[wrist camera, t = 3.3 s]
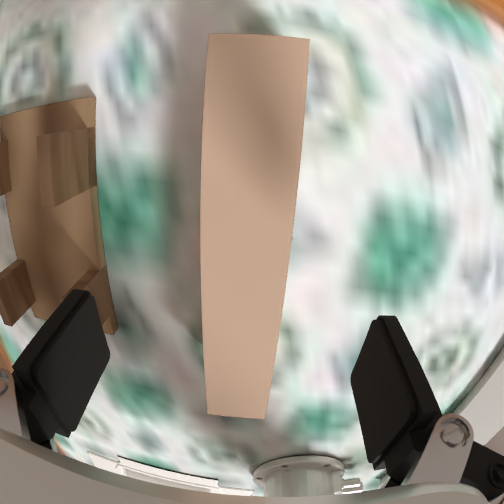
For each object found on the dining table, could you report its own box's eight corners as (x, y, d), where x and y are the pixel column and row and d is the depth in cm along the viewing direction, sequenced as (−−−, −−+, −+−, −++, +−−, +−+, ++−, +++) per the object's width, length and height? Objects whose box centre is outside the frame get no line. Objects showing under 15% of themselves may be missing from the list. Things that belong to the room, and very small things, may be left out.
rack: (95, 97, 16) (49, 97, 11) (118, 327, 23) (94, 368, 19) (8, 115, 16) (-37, 123, 11) (40, 311, 24) (12, 342, 19)
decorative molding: (379, 465, 39) (424, 471, 37) (377, 487, 35) (424, 491, 33) (505, 310, 25) (550, 327, 23) (521, 333, 21) (564, 348, 19)
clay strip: (295, 63, 15) (309, 39, 10) (265, 361, 24) (264, 419, 19) (227, 59, 15) (208, 34, 10) (217, 357, 24) (207, 414, 19)
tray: (84, 439, 36) (77, 456, 32) (258, 474, 38) (258, 494, 34) (107, 480, 44) (103, 494, 41) (239, 505, 46) (238, 520, 43)
